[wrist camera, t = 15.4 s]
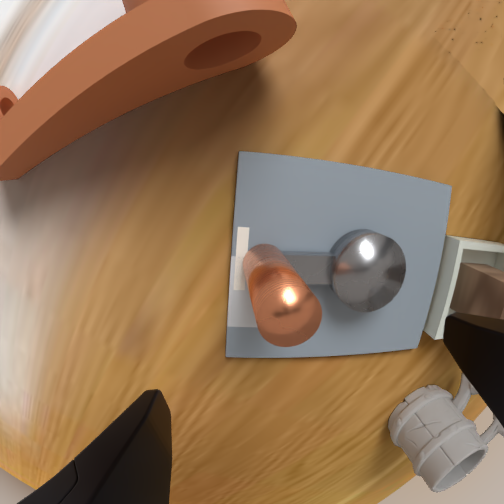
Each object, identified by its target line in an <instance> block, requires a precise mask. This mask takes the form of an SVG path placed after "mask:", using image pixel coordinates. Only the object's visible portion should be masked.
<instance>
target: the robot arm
mask: <svg viewBox="0 0 504 504" xmlns="http://www.w3.org/2000/svg"><path fill="white" fill-rule="evenodd" d="M443 341H444V344H445V346H446V347H447V349H448V350H449V352H450V353H451V355H452V356H453V358H454V359H455V361H456V363H457V364H458V366H459V367H460V369H461V370H462V372H463V374H464V375H465V376H466V378H467V379H468V380H469V382H470V383H471V384H472V386H473V387H474V388H475V390H476V391H477V392H478V394H479V395H480V396H481V397H482V399H483V400H484V402H485V403H486V404H487V406H488V407H489V408H490V410H491V411H492V412H493V414H494V415H495V417H496V418H497V419H498V421H499V422H500V424H501V425H502V427H503V428H504V320H503V319H497V318H491V317H485V316H479V315H473V314H467V313H461V312H454V313H452V314H450V315H448V316H447V317H446V319H445V325H444V333H443ZM171 468H172V437H171V413H170V409H169V407H168V405H167V403H166V401H165V399H164V396H163V394H162V392H161V391H160V390H158V389H154V390H146V391H145V392H144V393H143V394H142V395H141V396H139V397H138V398H137V399H136V400H135V401H134V402H133V403H132V404H131V405H130V406H129V407H128V408H127V409H126V410H125V411H124V412H123V413H122V414H121V415H120V416H119V417H118V418H117V419H116V420H115V421H113V422H112V423H111V424H110V425H109V426H108V427H107V428H106V429H105V430H104V431H103V432H102V433H101V434H100V435H99V436H98V437H97V438H96V439H94V440H93V441H92V442H91V443H90V444H89V445H88V446H87V447H86V448H85V449H84V450H83V451H82V452H81V453H79V454H78V455H77V456H76V457H75V458H74V460H72V461H71V462H70V463H69V464H67V465H66V466H65V467H64V468H63V469H62V470H61V471H60V472H58V473H57V474H56V475H55V476H54V477H53V478H51V479H50V480H49V481H47V482H46V483H45V484H43V485H42V486H41V487H39V488H38V489H37V490H35V491H34V492H33V493H31V494H30V495H28V496H27V497H25V498H24V499H23V500H21V501H20V502H18V503H17V504H169V494H170V481H171Z"/></svg>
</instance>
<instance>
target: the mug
mask: <svg viewBox="0 0 504 504" xmlns="http://www.w3.org/2000/svg"><path fill="white" fill-rule="evenodd" d="M475 394H478V392H477V391H476V390H475V388H474V387H473V386H472V384H471V383H470V382H469V380H468V379H467V378H466V376H465V375H464V374H463V372H462V375H461V385H460V388H459V390H458V393H457V395H456V396H455V398H454V399H453V396H452V394H451V393H449V392H448V391H446V390H444V389H441V388H440V387H439V386H437V385H428V386H427V387H426V388H425V387H421V388H419V389H417V390H415V391H414V392H412V393H411V394H409V395H408V396H407V397H406V398H405V400H406V401H404V402H402V403H400V404H399V405H398V406H397V407H396V408H395V410H394V411H393V413H392V414H391V416H390V418H389V421H388V423H389V424H388V428H389V430H390V437H391V439H392V441H393V443H394V444H395V446H398V447H401V448H402V449H403V451H404V452H405V454H406V455H407V456H408V458H409V459H410V461H411V462H412V464H413V469H414V473H415V474H416V475H418V476H421V477H422V478H423V479H424V481H425V482H426V484H427V485H428V487H429V488H430V489H431V491H433V492H441V491H444V490H446V489H448V488H450V487H451V486H453V485H455V484H456V483H458V482H459V481H461V480H462V479H463V478H464V477H466V474H469V473H470V472H471V471H472V470H473V469H475V467H476V466H477V465H478V464H479V463H480V462H481V461H482V459H483V458H484V457H485V455H486V453H487V451H488V446H487V444H488V442H490V441H491V440H492V439H493V438H494V437H495V436H496V434H498V433H500V434H501V435H502V436H504V428H503V427H502V425H501V424H500V422H499V421H498V419H497V418H496V417H495V415H494V414H493V419H494V421H493V423H492V424H491V425H490V426H489V428H488V429H487V430H486V431H485V432H484V433H483V434H482V435H479V434H478V433H477V431H476V425H475V424H474V422H473V421H471V420H468V419H466V418H465V417H464V415H463V414H462V411H463V410H464V408H465V407H466V405H467V403H468V401H469V399H470V396H471V395H475Z"/></svg>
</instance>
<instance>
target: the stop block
mask: <svg viewBox="0 0 504 504" xmlns="http://www.w3.org/2000/svg"><path fill="white" fill-rule="evenodd" d="M449 308H451V309H452V310H454V311H455V312H461V313H467V314H473V315H479V316H485V317H491V318H497V319H503V320H504V272H503V271H501V270H499V269H496V268H494V267H492V266H490V265H487V264H478V263H464V262H461V263H460V267H459V272H458V276H457V280H456V285H455V289H454V292H453V296H452V300H451V304H450V307H449Z"/></svg>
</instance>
